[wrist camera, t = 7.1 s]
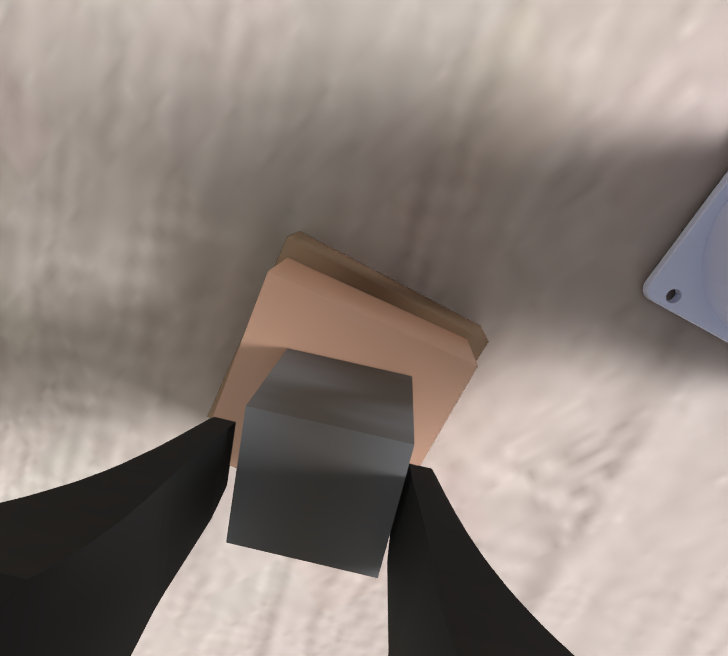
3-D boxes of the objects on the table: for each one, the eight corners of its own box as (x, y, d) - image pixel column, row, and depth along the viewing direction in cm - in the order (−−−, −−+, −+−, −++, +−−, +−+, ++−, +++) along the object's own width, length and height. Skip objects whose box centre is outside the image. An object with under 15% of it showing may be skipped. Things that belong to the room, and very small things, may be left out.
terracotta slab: (467, 339, 17) (477, 366, 14) (385, 485, 19) (382, 530, 16) (287, 257, 16) (267, 271, 14) (225, 417, 18) (199, 452, 16)
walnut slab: (478, 321, 19) (488, 341, 17) (386, 466, 21) (384, 502, 19) (302, 229, 18) (287, 237, 16) (229, 389, 21) (207, 416, 19)
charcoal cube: (412, 376, 14) (414, 444, 11) (384, 483, 16) (377, 577, 12) (287, 348, 15) (245, 405, 11) (269, 456, 16) (226, 542, 12)
